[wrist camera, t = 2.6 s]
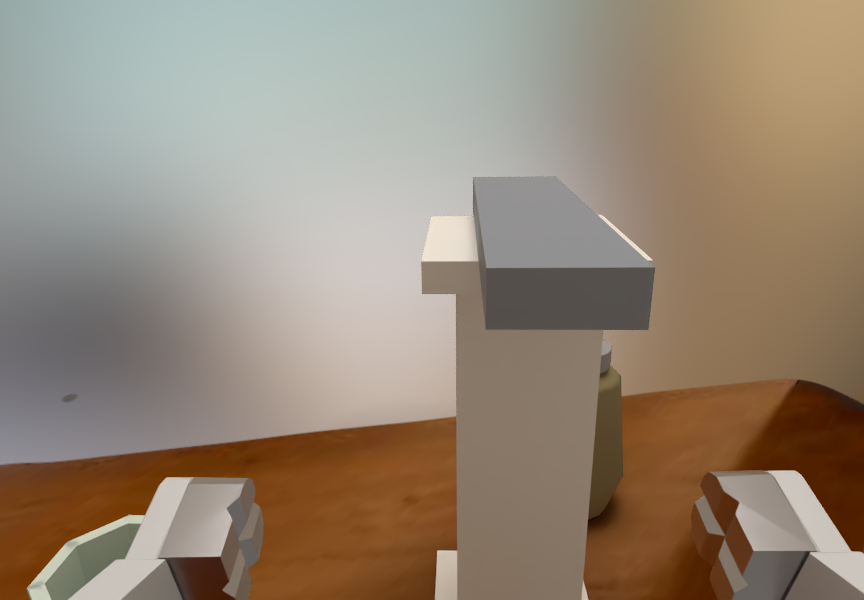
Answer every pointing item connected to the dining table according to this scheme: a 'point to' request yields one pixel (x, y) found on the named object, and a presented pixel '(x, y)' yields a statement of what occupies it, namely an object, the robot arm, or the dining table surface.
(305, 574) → the dining table surface
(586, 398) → the stand
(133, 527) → the jar
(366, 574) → the dining table surface
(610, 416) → the squeeze bottle
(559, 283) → the cover
